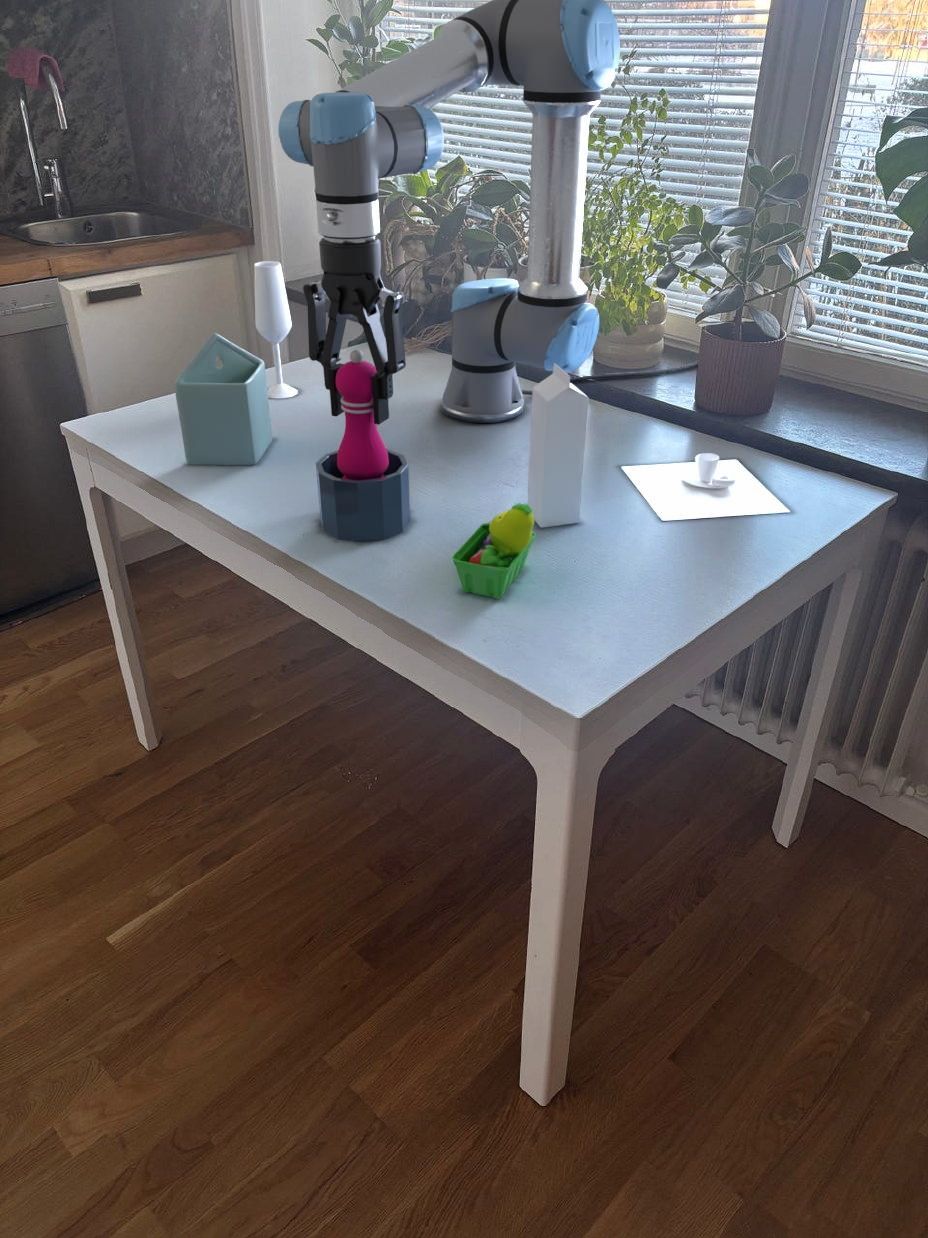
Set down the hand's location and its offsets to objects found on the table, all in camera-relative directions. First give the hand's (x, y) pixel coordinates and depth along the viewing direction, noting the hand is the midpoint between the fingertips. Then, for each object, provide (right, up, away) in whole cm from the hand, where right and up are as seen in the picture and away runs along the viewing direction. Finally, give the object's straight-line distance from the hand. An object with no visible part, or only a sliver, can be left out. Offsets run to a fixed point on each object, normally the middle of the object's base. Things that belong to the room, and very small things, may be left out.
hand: (360, 416), depth 128 cm
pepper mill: (0, -9, +6) cm, 11 cm away
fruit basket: (+19, -23, -6) cm, 30 cm away
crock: (0, -13, +8) cm, 16 cm away
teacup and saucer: (+51, -7, +19) cm, 55 cm away
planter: (-23, -1, +28) cm, 36 cm away
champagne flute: (-22, +16, +55) cm, 61 cm away
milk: (+27, -13, +10) cm, 32 cm away
